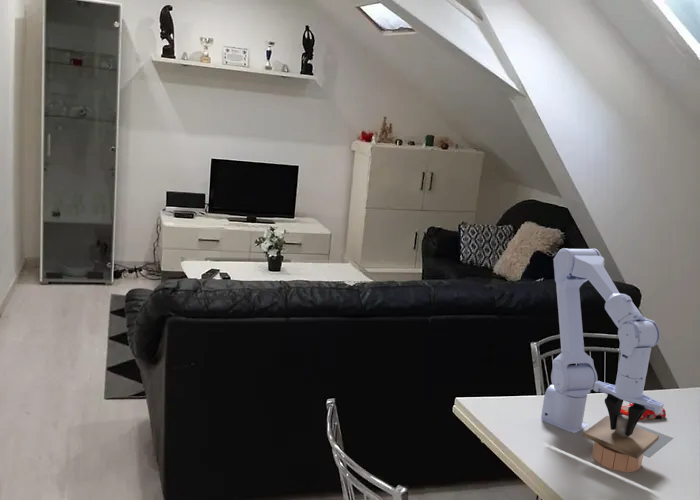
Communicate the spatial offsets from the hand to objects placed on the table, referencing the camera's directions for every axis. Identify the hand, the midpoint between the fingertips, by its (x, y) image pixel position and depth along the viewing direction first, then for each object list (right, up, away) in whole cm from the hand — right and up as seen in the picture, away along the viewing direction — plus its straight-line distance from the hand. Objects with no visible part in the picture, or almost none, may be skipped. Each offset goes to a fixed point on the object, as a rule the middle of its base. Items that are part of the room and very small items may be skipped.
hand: (621, 431), depth 148 cm
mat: (+8, -5, +14) cm, 17 cm away
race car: (+15, -4, +26) cm, 31 cm away
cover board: (0, -2, +1) cm, 2 cm away
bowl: (-1, -7, +2) cm, 7 cm away
